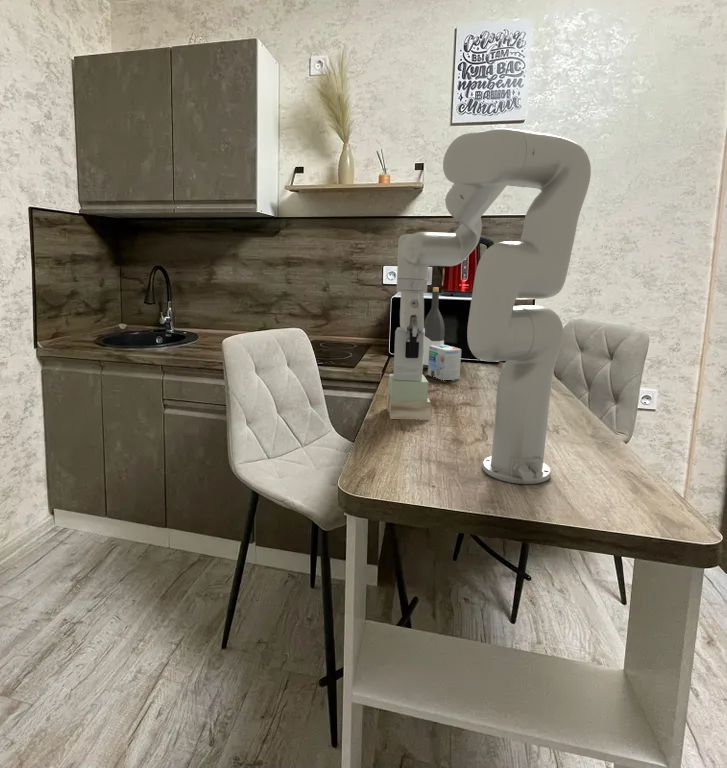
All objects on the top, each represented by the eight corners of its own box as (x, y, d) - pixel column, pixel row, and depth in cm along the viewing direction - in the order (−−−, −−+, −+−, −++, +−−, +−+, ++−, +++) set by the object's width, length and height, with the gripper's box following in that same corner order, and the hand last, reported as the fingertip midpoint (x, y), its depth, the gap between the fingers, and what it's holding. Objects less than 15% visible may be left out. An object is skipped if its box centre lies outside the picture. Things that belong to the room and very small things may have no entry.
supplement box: (421, 381, 130) (424, 331, 127) (392, 380, 131) (394, 330, 128) (423, 375, 137) (425, 327, 134) (395, 373, 138) (396, 326, 135)
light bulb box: (427, 375, 184) (428, 345, 181) (443, 373, 187) (444, 344, 184) (443, 381, 174) (445, 349, 172) (460, 380, 177) (462, 348, 175)
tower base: (429, 421, 131) (430, 402, 130) (390, 420, 131) (391, 401, 130) (423, 410, 141) (424, 392, 140) (387, 409, 141) (387, 391, 139)
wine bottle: (446, 368, 196) (451, 287, 189) (430, 370, 191) (434, 288, 185) (433, 364, 202) (437, 286, 195) (416, 366, 198) (420, 286, 191)
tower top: (427, 401, 131) (428, 382, 130) (391, 401, 130) (392, 381, 129) (421, 392, 140) (422, 374, 138) (388, 392, 139) (389, 373, 138)
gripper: (433, 288, 120) (429, 361, 124) (421, 284, 137) (418, 348, 141) (401, 287, 119) (398, 360, 123) (393, 284, 136) (390, 348, 140)
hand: (408, 354), depth 132 cm, fingers open, 9 cm apart
